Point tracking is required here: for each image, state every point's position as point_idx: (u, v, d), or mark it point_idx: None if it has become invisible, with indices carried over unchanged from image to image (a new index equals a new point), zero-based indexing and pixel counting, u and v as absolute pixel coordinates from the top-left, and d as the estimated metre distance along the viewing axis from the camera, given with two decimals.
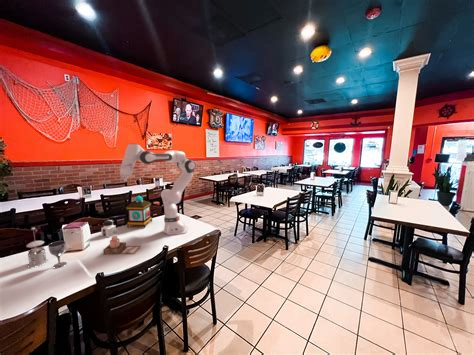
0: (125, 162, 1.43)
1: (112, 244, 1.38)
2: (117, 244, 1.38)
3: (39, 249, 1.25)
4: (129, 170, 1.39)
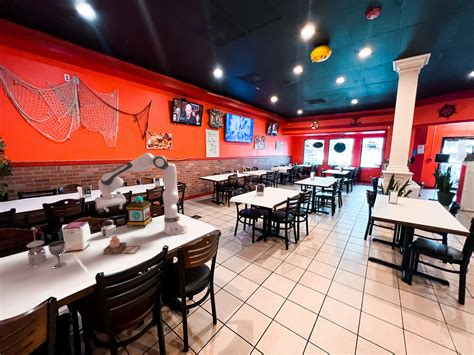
0: None
1: (112, 244, 1.38)
2: (117, 244, 1.38)
3: (39, 249, 1.25)
4: (96, 203, 1.46)
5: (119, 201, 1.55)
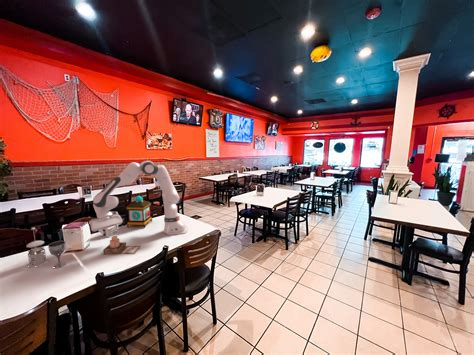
0: None
1: (112, 244, 1.38)
2: (117, 244, 1.38)
3: (39, 249, 1.25)
4: (91, 226, 1.40)
5: (115, 222, 1.49)
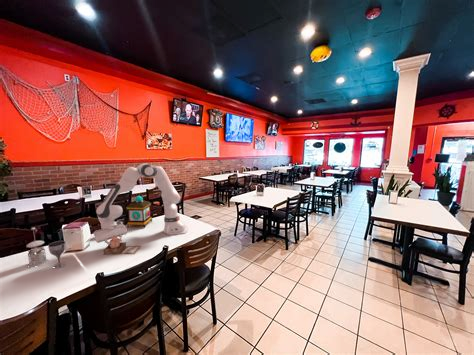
0: None
1: (112, 244, 1.38)
2: (117, 244, 1.38)
3: (39, 249, 1.25)
4: (95, 237, 1.36)
5: (120, 232, 1.45)
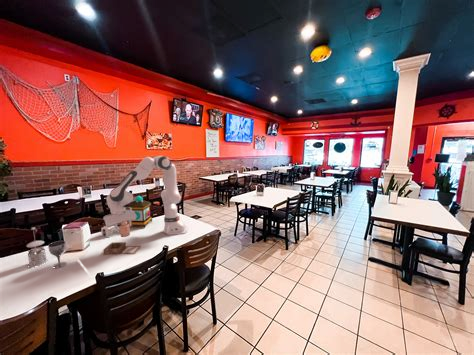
0: None
1: (122, 229, 1.37)
2: (127, 229, 1.37)
3: (39, 249, 1.25)
4: (105, 222, 1.35)
5: (129, 218, 1.44)
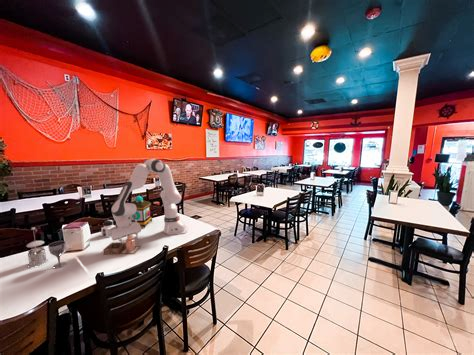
0: None
1: (128, 243, 1.38)
2: (133, 243, 1.38)
3: (39, 249, 1.25)
4: (111, 235, 1.36)
5: (134, 230, 1.45)
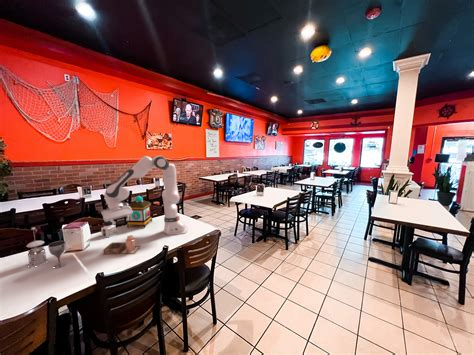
0: None
1: (128, 243, 1.38)
2: (133, 243, 1.38)
3: (39, 249, 1.25)
4: (103, 216, 1.43)
5: (126, 213, 1.52)
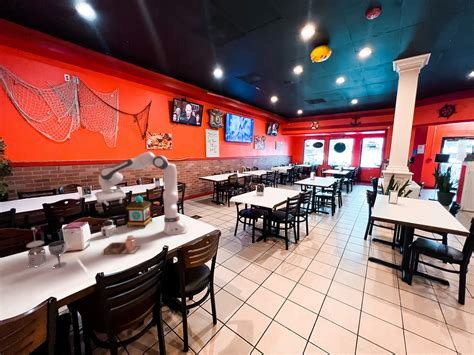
0: None
1: (128, 243, 1.38)
2: (133, 243, 1.38)
3: (39, 249, 1.25)
4: None
5: (119, 195, 1.58)
